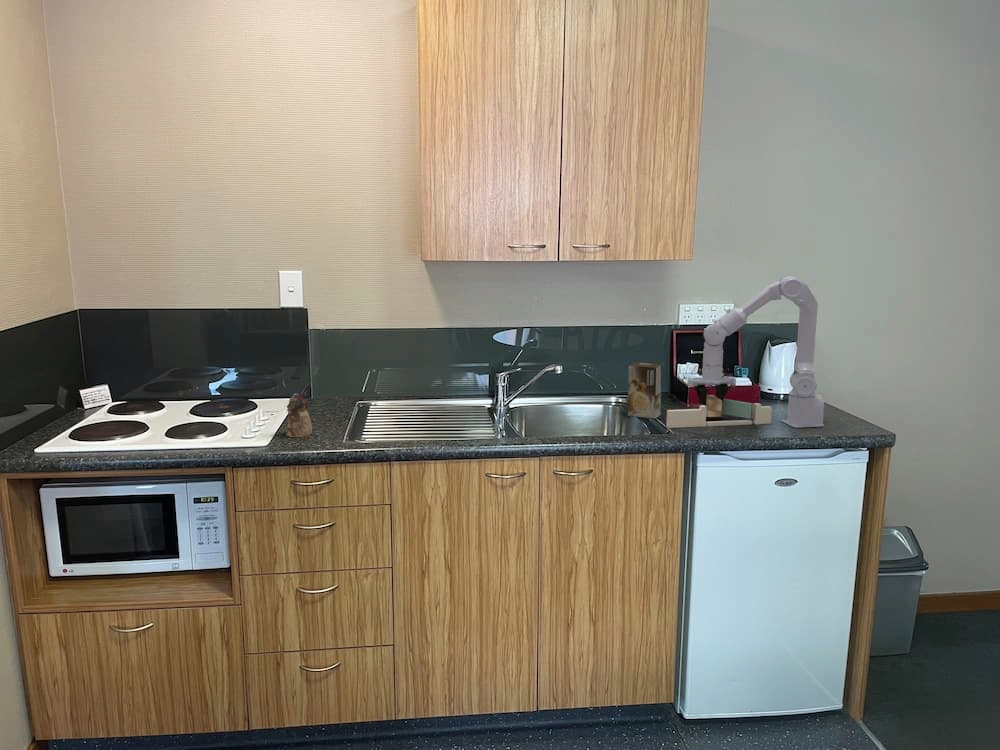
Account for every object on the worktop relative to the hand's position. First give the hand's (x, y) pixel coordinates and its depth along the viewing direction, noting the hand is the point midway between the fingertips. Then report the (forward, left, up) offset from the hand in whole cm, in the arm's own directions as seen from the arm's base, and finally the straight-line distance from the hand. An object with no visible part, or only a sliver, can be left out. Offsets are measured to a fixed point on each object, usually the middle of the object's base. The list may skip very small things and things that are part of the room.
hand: (710, 408), depth 236 cm
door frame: (0, +7, -3) cm, 7 cm away
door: (-6, +1, -2) cm, 7 cm away
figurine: (+122, -2, -4) cm, 122 cm away
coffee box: (+18, -8, -4) cm, 20 cm away
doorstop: (0, 0, -2) cm, 2 cm away
